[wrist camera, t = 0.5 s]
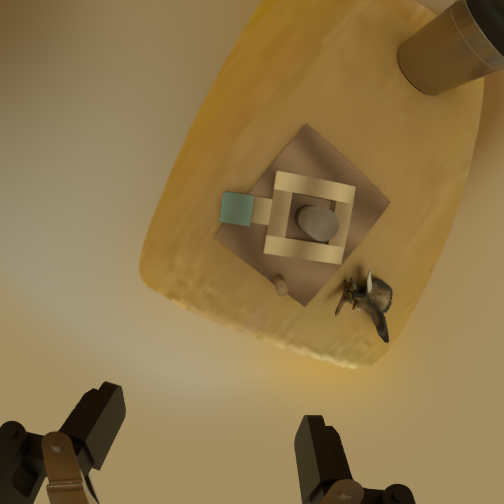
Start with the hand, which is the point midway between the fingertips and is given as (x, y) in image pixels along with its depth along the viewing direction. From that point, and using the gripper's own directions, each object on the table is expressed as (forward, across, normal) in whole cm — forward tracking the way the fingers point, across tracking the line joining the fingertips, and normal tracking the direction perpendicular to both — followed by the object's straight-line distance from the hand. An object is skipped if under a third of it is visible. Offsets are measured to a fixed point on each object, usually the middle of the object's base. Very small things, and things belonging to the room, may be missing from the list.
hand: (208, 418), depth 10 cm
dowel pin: (+23, -5, +1) cm, 24 cm away
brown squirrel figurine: (+25, -17, +2) cm, 30 cm away
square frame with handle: (+23, -5, -7) cm, 25 cm away
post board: (+24, -7, -7) cm, 26 cm away
